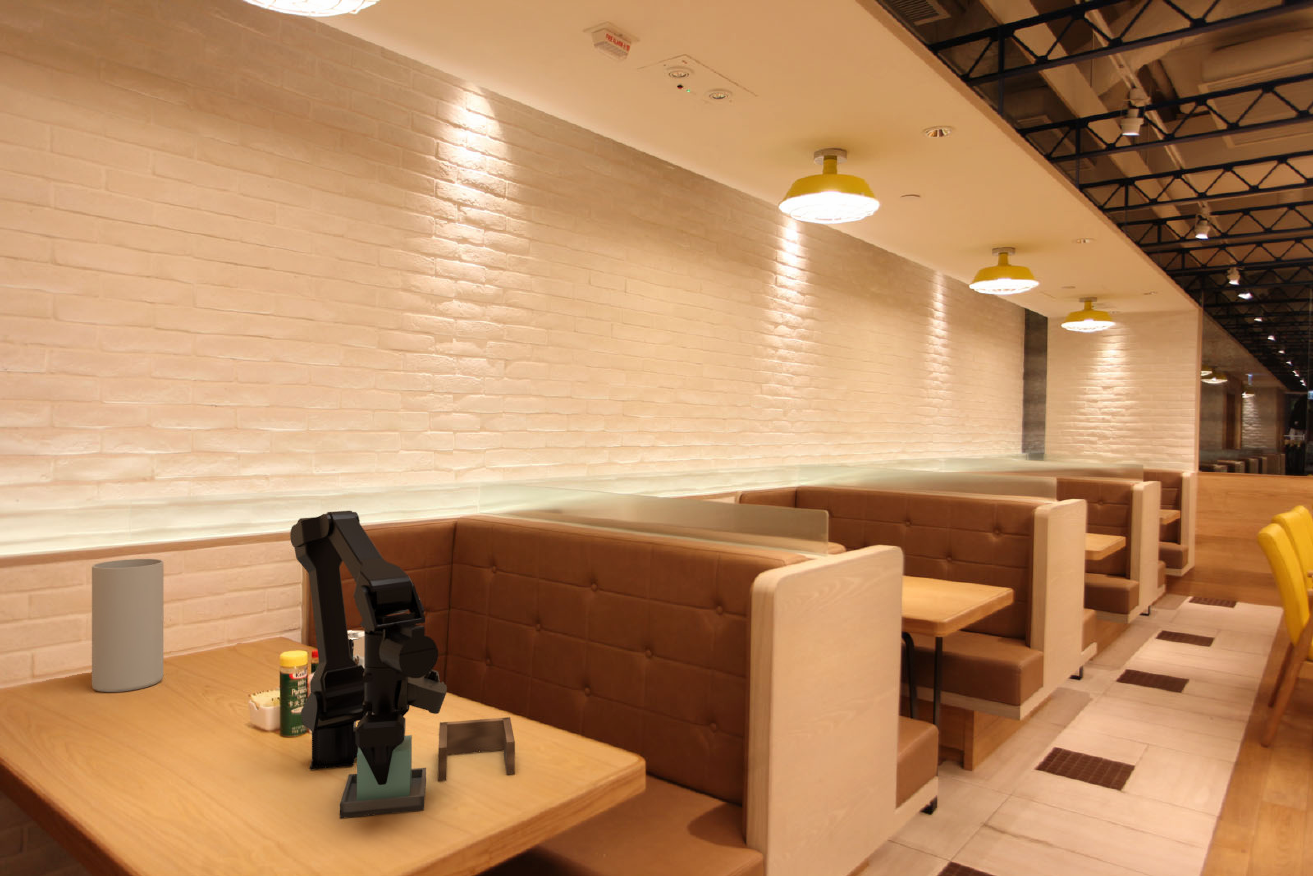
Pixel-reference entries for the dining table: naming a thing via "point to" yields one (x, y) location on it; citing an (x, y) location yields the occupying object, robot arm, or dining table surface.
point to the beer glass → (357, 646)
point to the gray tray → (383, 799)
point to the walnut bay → (476, 740)
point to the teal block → (397, 775)
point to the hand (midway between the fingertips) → (385, 771)
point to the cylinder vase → (127, 624)
